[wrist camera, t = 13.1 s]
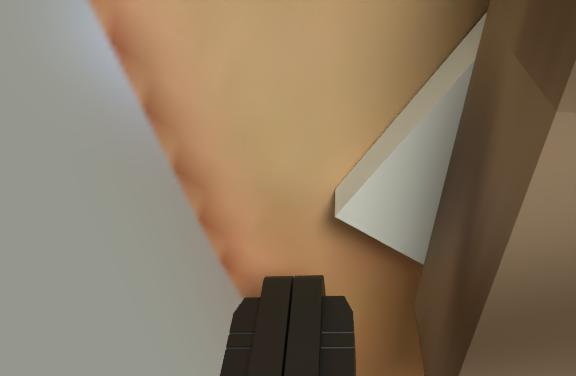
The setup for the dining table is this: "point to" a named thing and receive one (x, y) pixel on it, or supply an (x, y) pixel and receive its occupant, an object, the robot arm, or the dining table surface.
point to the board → (411, 160)
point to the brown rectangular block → (508, 207)
